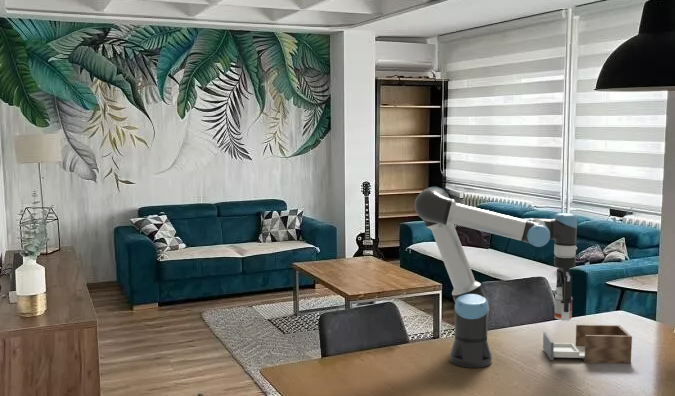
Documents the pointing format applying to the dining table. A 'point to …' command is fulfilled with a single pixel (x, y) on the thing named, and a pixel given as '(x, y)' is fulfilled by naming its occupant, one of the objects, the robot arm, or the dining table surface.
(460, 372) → the dining table surface
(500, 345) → the dining table surface
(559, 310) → the pill bottle
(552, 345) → the tray
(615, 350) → the wooden box
